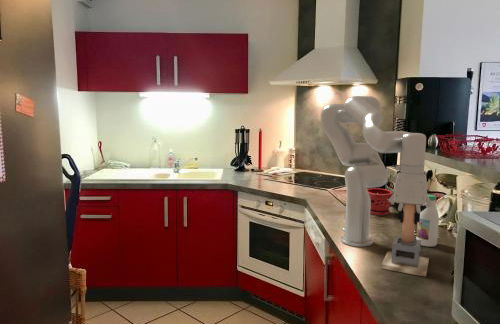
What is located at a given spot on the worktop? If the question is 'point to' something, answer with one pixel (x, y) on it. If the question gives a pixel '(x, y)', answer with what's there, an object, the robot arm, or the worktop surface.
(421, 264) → the collar stand
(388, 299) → the worktop surface
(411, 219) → the peg
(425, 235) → the milk bottle
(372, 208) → the plant pot
